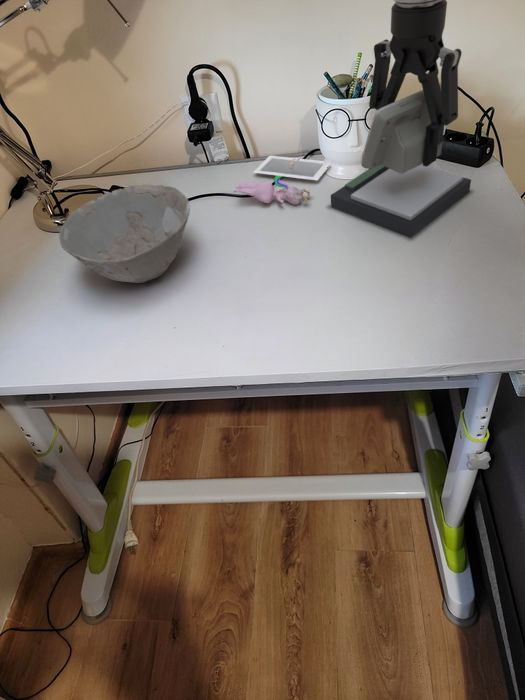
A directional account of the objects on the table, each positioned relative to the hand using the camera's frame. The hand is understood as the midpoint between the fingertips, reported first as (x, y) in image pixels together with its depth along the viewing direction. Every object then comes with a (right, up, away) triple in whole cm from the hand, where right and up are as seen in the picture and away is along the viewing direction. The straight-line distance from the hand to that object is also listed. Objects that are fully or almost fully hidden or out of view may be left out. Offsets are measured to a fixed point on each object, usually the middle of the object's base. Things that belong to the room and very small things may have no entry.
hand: (408, 156), depth 87 cm
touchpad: (-19, +5, +21) cm, 29 cm away
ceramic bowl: (-47, -18, +5) cm, 50 cm away
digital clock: (0, 0, +1) cm, 1 cm away
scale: (+1, -5, +8) cm, 10 cm away
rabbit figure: (-23, -4, +14) cm, 27 cm away
